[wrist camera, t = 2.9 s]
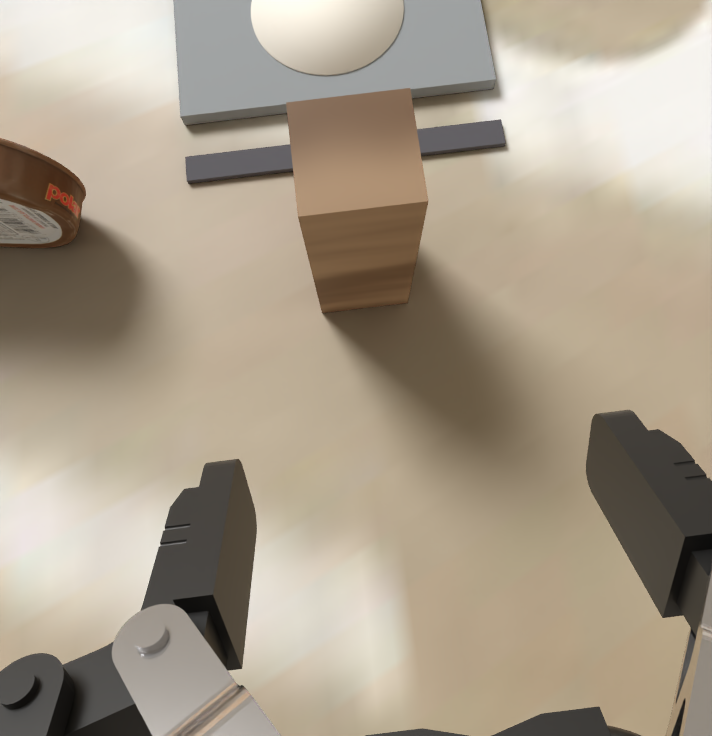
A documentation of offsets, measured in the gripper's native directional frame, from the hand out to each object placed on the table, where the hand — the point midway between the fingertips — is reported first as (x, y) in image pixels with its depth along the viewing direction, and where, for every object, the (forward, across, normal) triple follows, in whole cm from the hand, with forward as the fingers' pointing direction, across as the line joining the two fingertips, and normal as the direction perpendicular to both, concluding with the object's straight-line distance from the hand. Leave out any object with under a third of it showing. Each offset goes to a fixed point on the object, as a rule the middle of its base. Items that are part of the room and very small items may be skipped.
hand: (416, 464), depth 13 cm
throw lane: (+30, 0, -7) cm, 30 cm away
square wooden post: (+20, 0, +3) cm, 20 cm away
